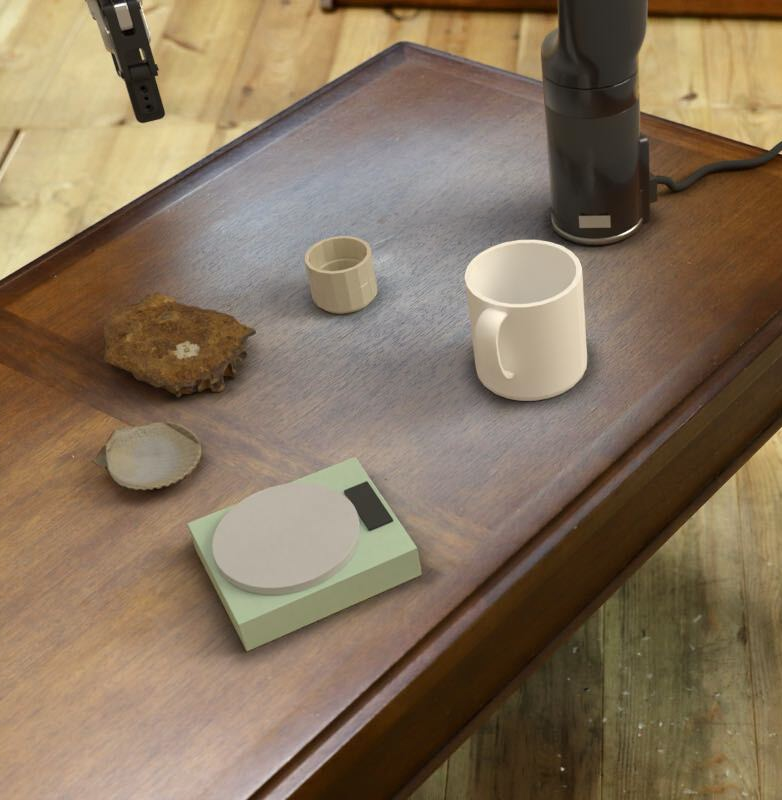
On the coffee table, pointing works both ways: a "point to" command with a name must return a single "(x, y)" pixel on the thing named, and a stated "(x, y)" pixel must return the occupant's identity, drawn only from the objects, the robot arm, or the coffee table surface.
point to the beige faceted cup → (341, 274)
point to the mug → (527, 319)
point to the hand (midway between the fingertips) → (141, 96)
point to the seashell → (150, 455)
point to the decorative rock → (175, 344)
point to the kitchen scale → (303, 551)
